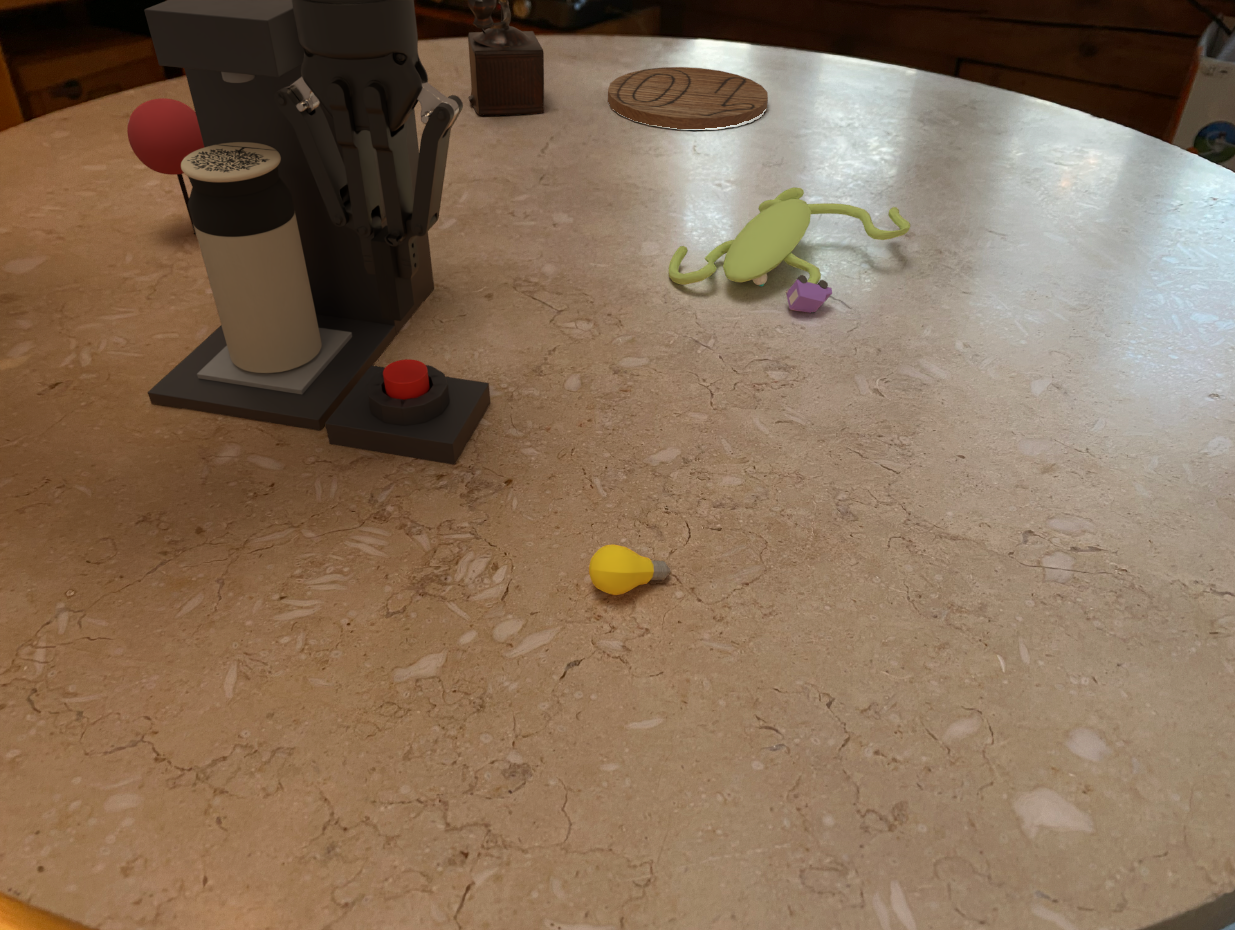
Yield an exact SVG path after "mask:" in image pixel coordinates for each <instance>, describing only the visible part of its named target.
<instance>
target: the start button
mask: <svg viewBox="0 0 1235 930" xmlns="http://www.w3.org/2000/svg"><path fill="white" fill-rule="evenodd" d="M426 365H427V364H426V363H424V362H422V361H420V360H417V359H409V358H408V359H407V358H406V359H399V360H396V361H393V362H390V363H389V364H387V365H386V366H384V367H385V369H384V371H383V377H384V384H385V390H386V393H387V395H388V396H389V397H391V398H397V399H403V400H404V399H411V398H417V397H419V396H421V395H423V394H425V393H427V392H428V390H429V378H428V370H427V367H426Z"/></svg>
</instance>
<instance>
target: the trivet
mask: <svg viewBox="0 0 1235 930" xmlns="http://www.w3.org/2000/svg"><path fill="white" fill-rule="evenodd" d="M608 102H609V104H610V106H609V108H610V107H611V108H612V109H614V110H615V111H616V112H618V113H619V114H621V115H623V116H625V117H627V118H630V119H632V120H634V121H638V122H642V123H646V124H649V125H657V126H662V127H670V128H677V129H705V128H717V127H726V126H730V125H737V124H739V123H742V122H744V121H749V120H751V119H753V118H755V117H757V116H759V115H760V114H762V113H763V111H764V110H765V109H766V108H768V102H769V94H768V90H766V88H764V86H763V85H762V84H760V83H758V82H757V81H754V80H753V79H751V78H748V77H745V76H742V75H740V74H736V73H732V72H727V71H724V70H719V69H710V68H704V67H688V66H667V67H666V66H665V67H664V66H663V67H655V68H645V69H641V70H636V71H631V72H627V73H625V74H623V75H620V76H618V77H616V78H615V79H614V80H613V81H611V82H610V83H609V85H608V89H607V103H608ZM609 104H608V105H609ZM611 108H610V109H611Z"/></svg>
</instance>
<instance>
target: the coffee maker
mask: <svg viewBox="0 0 1235 930" xmlns="http://www.w3.org/2000/svg"><path fill="white" fill-rule="evenodd" d="M144 14H145V18H146V22H147V25H148V30H149V33H150V36H151V40H152V44H153V47H154V51H155V55H156V59H157V62H158V66H161V67H171V68H178V69H179V68H181V69H183V70H184V72H185V78H186V81H187V85H188V88H189V93H190V96H191V100H192V104H193V110H194V111H195V113H196V116H197V120H198V124H199V128H200V132H201V136H202V140H203V144H204V148H205V147H208V146H212V145H217V144H223V143H233V142H250V143H259V144H264V145H267V146H270V147H272V148H274V149H275V150H277V151H278V152H279V154H280V157H281V160H280V163H279V165H278V172H279V177H280V178H281V180H282V181H283V182H284V183H285V185H286V186H287V187H288V188H289V190H290V191H291V195H292V200H293V205H294V210H295V215H296V220H297V225H298V230H299V234H300V239H301V244H302V249H303V254H304V259H305V264H306V269H307V274H308V279H309V284H310V288H311V293H312V298H313V303H314V308H315V313H316V318H317V323H318V328H319V333H320V338H321V343H322V346H321V349H320V351H319V353H318V354H317V355H316V356H315V357H314V358H313V359H312V360H310V361H309V362H307V363H305V364H303V365H301V366H299V367H296V368H294V369H291V370H288V371H283V372H275V373H256V372H250V371H246V370H243V369H241V368H239V367H237V366H236V365H235V364H234V363H233V362H232V360H231V358H230V354H229V351H228V347H227V344H226V340H225V336H224V333H223V329H222V326H221V325H220V326H219V327H217V328H216V329H215V330H214V331H213V332H212V333H211V334H210V335H208V336H207V337H206V338H205V339H204V340H202V342H201V343H200V344H198V346H196V347H195V348H194V349H193V350H192V351H191V352H190V353H189V354H188V355H187V356H185V358H183V359H182V360H181V361H180V362H179V363H178V364H177V365H176V366H175V367H173V368H172V369H171V370H170V371H168V373H167V374H165V376H164V377H163V378H161V380H159V381H158V382H157V383H156V384H155V385H154V386H153V387H152V388H150V390H148V391H147V395H148V398H149V401H150V404H152V405H158V406H164V407H170V408H177V409H184V410H190V411H196V412H202V413H208V414H213V415H214V414H215V415H221V416H227V417H233V418H239V419H246V420H252V421H257V422H258V421H259V422H264V423H269V424H270V423H271V424H276V425H283V426H289V427H293V428H295V427H296V428H301V429H307V430H314V431H319V432H320V431H322V430H323V429H324V427H326V425H325V423H326V422H327V420H328V419H329V418H330V417H331V415H332V414H333V413H334V412H335V410H336V409H337V408H338V406H339V405H340V404H341V403H342V401H343V400H344V399H345V398H346V396H347V395H348V394H349V393H350V391H351V390H352V389H353V388H354V386H355V385H356V384H357V383H358V381H359V380H360V379H361V378H362V376H363V375H364V374H365V373H366V371H367V370H368V369H369V368H370V366H371V365H372V366H375V365H374V364H375V363H376V362H377V361H378V360H379V358H380V357H381V356H382V355H383V353H384V352H385V351H386V350H387V348H388V347H389V346H390V344H391V343H393V340H394V339H396V337H397V336H398V334H399V333H400V332H401V331H402V329H403V328H404V327H405V325H407V323H408V322H409V321H410V319H411V318H412V317H413V315H414V314H415V313H416V312H417V310H418V309H419V308H420V307H421V306H422V304H423V303H424V302H425V300H426V299H428V297H429V296H430V294H431V293H432V292H433V291H434V289H435V284H434V283H435V282H434V276H433V265H432V257H431V247H430V240H429V231H428V232H427V233H426V234H425V235H424V236H417V235H416V243H417V251H418V259H419V268H418V271H417V272H416V273H415V274H414V276H413V277H412V278H411V284H412V292H413V299H414V305H413V307H412V308H411V309H410V310H409V311H408V313H407V314H406V315H405V316H404V318H403V319H402V320H401V321H396V320H389V319H383V317H382V311H381V304H380V298H379V292H378V285H377V279H376V275H372V274H368V273H367V271H366V269H365V266H364V260H363V254H362V248H361V242H360V237H359V235H358V234H357V233H356V231H354V230H353V229H351V228H349V227H347V226H343V227H338V226H336V225H335V224H333V222H332V221H331V218H330V216H329V213H328V211H327V209H326V206H325V204H324V201H323V199H322V196H321V194H320V191H319V189H318V187H317V184H316V182H315V179H314V177H313V174H312V172H311V169H310V167H309V165H308V162H307V160H306V157H305V155H304V152H303V150H302V147H301V145H300V143H299V140H298V138H297V135H296V133H295V130H294V128H293V126H292V125H291V123H290V122H289V121H288V119H287V118H286V117H285V115H284V114H283V113H282V111H281V110H280V109H279V107H278V106H277V105H276V103H275V101H274V94H275V93H276V92H277V91H279V90H280V89H282V88H284V87H285V86H287V85H289V84H290V83H292V82H294V81H297V80H298V79H299V78H301V77H302V75H301V65H302V62H303V59H304V49H303V47H302V45H301V44H300V42H299V38H298V32H297V27H296V21H295V16H294V10H293V5H292V0H165V1H162V2H160V3H157V4H154V5H152V6H150V7H147V8H145V9H144ZM319 106H320V107H321V109H322V111H323V113H324V115H325V117H326V119H327V122H328V125H329V127H330V130H331V132H332V135H333V137H334V140H335V143H336V145H337V148H338V150H339V153H340V156H341V158H342V161H343V163H344V159H343V153H342V147H341V145H339V144H338V143H337V139H336V133H335V127H334V121H333V118H332V117H331V115H330V114H329V113H328V111H327V110H326V109H325V108H324V106H323V105H322V104H321V103H320V101H319ZM407 124H408V135H407V148H408V156H409V164H410V172H411V180H412V188H413V196H414V193H415V185H416V176H417V168H418V159H419V151H420V145H419V138H418V129H417V120H416V112H415V108H414V109H413V111H412V113H411V114H410V116H409V118H408V120H407ZM374 152H375V159H376V166H377V173H378V180H379V186H380V193H381V200H382V207H383V213H385V206H384V199H383V193H382V186H381V179H380V172H379V165H378V159H377V152H376V149H374ZM344 166H345V165H344ZM385 215H386V213H385ZM385 215H384V216H385ZM385 226H387V220H385V221H384V222H383V223H382V229H383V228H384V227H385Z"/></svg>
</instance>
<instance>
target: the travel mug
mask: <svg viewBox="0 0 1235 930" xmlns="http://www.w3.org/2000/svg"><path fill="white" fill-rule="evenodd" d="M280 160H281V157H280V154H279V152H278V151H277V150H275V149H274V148H272V147H270V146H267V145H264V144H259V143H250V142H233V143H223V144H217V145H212V146H208V147H205V148H202V149H199V150H196V151H194V152H192V153H190V154H189V155H187V156H186V157H185V158H184V159H183V160H182V162H181V169H182V171H183V172H184V173H183V174H184V175H186V176H187V178H188V180H189V183H190V185H191V191H190V193H189V201H188V207H189V210H190V214H191V218H192V221H193V225H194V228H195V232H196V235H195V236H196V239H197V243H198V247H199V250H200V253H201V257H202V261H203V264H204V268H205V272H206V276H207V279H208V282H209V285H210V290H211V293H212V297H213V300H214V303H215V308H216V311H217V314H218V318H219V322H220V326H222V329H223V333H224V336H225V340H226V344H227V347H228V351H229V354H230V358H231V360H232V362H233V363H234V364H235V365H236V366H237V367H239V368H241V369H243V370H246V371H250V372H256V373H275V372H283V371H288V370H291V369H294V368H296V367H299V366H301V365H303V364H305V363H307V362H309V361H310V360H312V359H313V358H314V357H315V356H316V355H317V354H318V353H319V351H320V349H321V346H322V343H321V338H320V333H319V328H318V323H317V318H316V313H315V308H314V303H313V298H312V293H311V288H310V284H309V279H308V274H307V269H306V264H305V259H304V254H303V249H302V244H301V239H300V234H299V230H298V225H297V220H296V215H295V210H294V205H293V200H292V195H291V191H290V190H289V188H288V187H287V186H286V185H285V183H284V182H283V181H282V180H281V178H280V177H279V172H278V165H279V163H280Z"/></svg>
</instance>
